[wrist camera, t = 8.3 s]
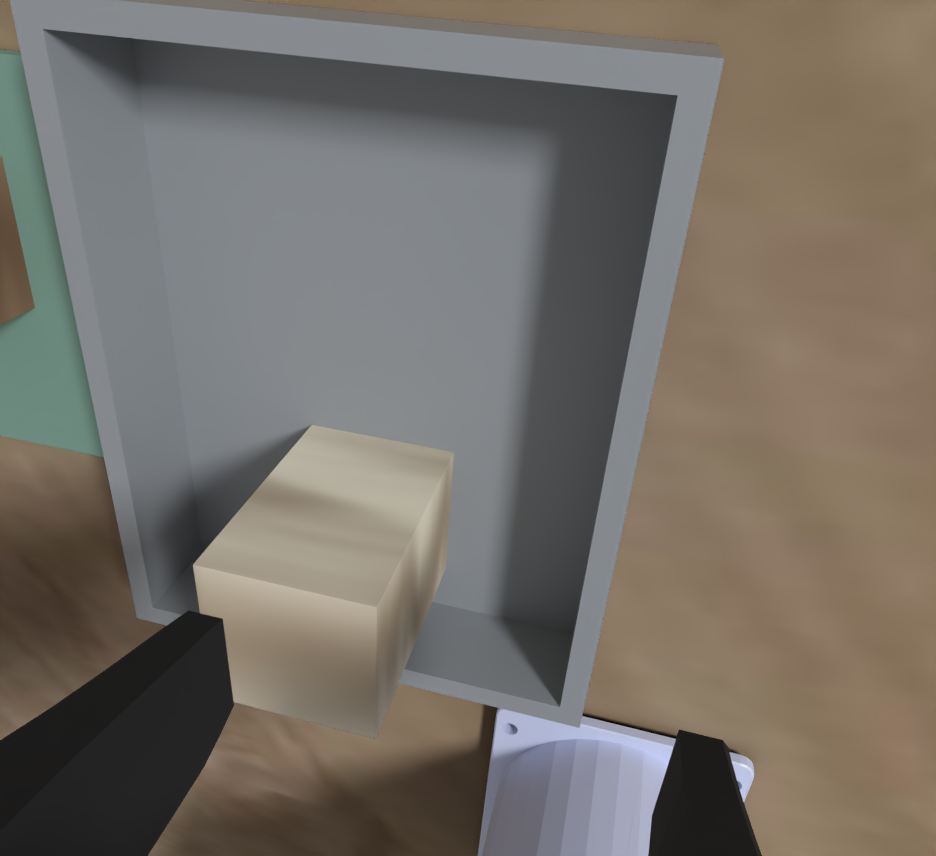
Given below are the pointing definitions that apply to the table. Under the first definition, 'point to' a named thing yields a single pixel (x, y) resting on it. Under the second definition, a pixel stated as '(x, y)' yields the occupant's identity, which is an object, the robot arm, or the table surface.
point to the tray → (376, 285)
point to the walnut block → (11, 260)
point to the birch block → (330, 576)
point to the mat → (39, 297)
